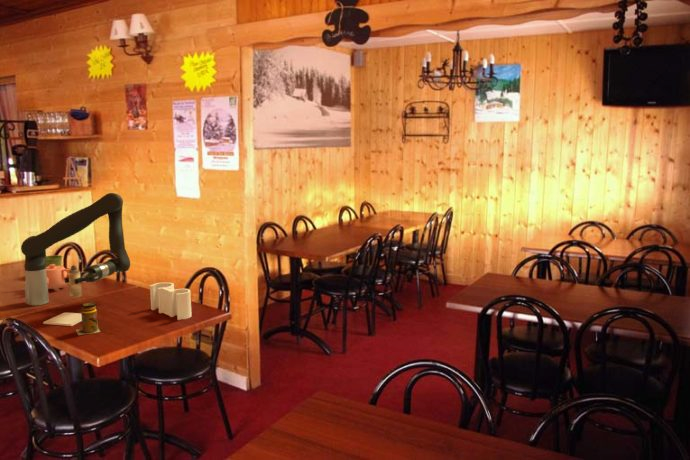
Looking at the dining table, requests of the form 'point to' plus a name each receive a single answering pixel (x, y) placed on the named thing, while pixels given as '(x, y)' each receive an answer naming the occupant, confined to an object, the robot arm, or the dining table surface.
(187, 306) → the cream triple cylinder
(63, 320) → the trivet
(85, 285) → the dining table surface
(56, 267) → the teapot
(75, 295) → the pepper mill
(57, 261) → the plant pot
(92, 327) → the condiment
